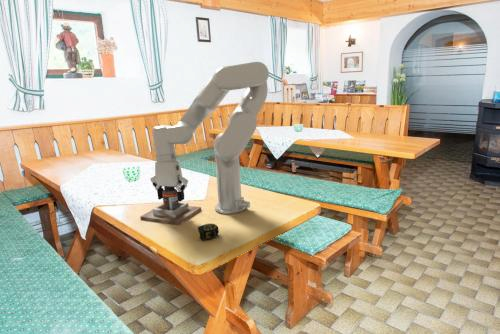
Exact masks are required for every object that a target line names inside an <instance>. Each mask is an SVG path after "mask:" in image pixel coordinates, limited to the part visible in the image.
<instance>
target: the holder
mask: <svg viewBox="0 0 500 334" xmlns="http://www.w3.org/2000/svg"><path fill="white" fill-rule="evenodd" d="M200 211H202V207H201V206H196V205H195V206H193V205H189V202H183V201H179V207H178V208H176V209H175V210H165V209H164V203H163V202H162V203H161V204H159V205H157V206H156V207H154V208H153V209H151V210H150V211H148V212H146V213H145V214H142V215H140V216H139V217H140V220H142V221H143V220H144V221H148V222H149V221H150V222H154V223H155V222H156V223H163V224H170V225H176V226H179V225H181V224H183V223H184V222H186V221H187V220H188V219H190V218H191V217H193V216H195V215H196V214H198V213H199V212H200Z"/></svg>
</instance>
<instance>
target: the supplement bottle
mask: <svg viewBox="0 0 500 334" xmlns="http://www.w3.org/2000/svg"><path fill="white" fill-rule="evenodd" d="M163 189H164V191H163V192H162V194H163V198H162V201H163V202H162V204H163V203H164V209H165V210H175V209H176V208H178V207H179V202H180V201H178V194H177V192H178V190H177V189H176V187H169V186H163Z"/></svg>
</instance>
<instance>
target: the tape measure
mask: <svg viewBox="0 0 500 334" xmlns="http://www.w3.org/2000/svg"><path fill="white" fill-rule="evenodd" d="M197 232H198V234H199V239H201V240H202V241H204V240H211V239H215V238H217V237H218V236H219V233H220V231H219V226H218V225H217V224H215V223H206V224H202V225H200V226H198V228H197Z"/></svg>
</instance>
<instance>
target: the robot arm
mask: <svg viewBox="0 0 500 334" xmlns="http://www.w3.org/2000/svg"><path fill="white" fill-rule="evenodd" d="M269 73H270V72H269V69H268V66H267V65H266V64H265V63H263V62H261V61H250V62H247V63H241V64H234V65H227V66H226V65H225V66H221V67H219V68H217V69H216V70H215V71H214V73H212V75H211V76H210V77H209V79H208V80H207V82H206V83H205V85H204V86H203V88H201V90H200V91H199V92H198V94H197V95H196V96H195V98H194V99H193V101H192V103H190V104H191V105H189V107H188V109H187V110H186V111H185V112H184V114H183V116H182V117H181V118H180V120H178V122H177V123H176V124H175V125H173V126H171V125H168V124H164V125H163V124H162V125H156V126H153V128H152V140H153V145H154V146H153V147H154V152H155V160H156V161H155V163H154V164H155V167H154V172H155V173H154V174H155V175H154V176H152V177H151V178H150V179H149V180H150V181H151V182H150V183H152V186H153V187H154V188H155V191H156V193H157V199H158V200H163V194H162V192H163V191H164V186H169V187H175V189H176V190H177V191H178V192H177V194H178V201H179V202H183V201H184V200H185V189H186V188H187V187H188V183H189V180H188V179H187V178H186V177H184V176H183V173H182V168H181V165H180V162H179V159H178V158H179V155H178V154H176V146H175V145H187V144H189V143H190V142H192V140H193V138H194V133H195V132H196V131H197V129H198V128H199V126H200V125H201V124H202V123H203V122H204V121H205V120H206V118H207V117H208V116H210V115H211V114H213V113H214V111H216V109H217V108H218V107H219V105H220V104H221V102H222V101H223V100H224V98H225V97H226V96H227V94H228V93H229V92H230V91H235V90H241V89H245V91H244V94H243V95H242V97H241V99H240V101H239V103H238V104H237V106H236V108H235V109H234V110H233V111H232V113H231V115H230V116H229V121H228V122H229V124H228V125H227V127H226V129H225V130H224V131H223V132H220V133H219V134H218V135H216V137H215V139H214V141H213V151H214V160H215V173H216V185H217V187H216V189H217V200H218V201H217V202H218V203H217V204H216V205H215V206H214V210H215V212H216V213H219V214H224V215H225V214H226V215H228V214H230V215H231V214H238V213H241V212H243V211H245V209H246V208H247V209H248V208H250V207H251V202H250V201H249V200H245V198H244V196H242V185H241V184H242V183H241V181H242V180H241V165H240V163H241V162H240V155H241V154H242V153H243V151H244V149H245V148H246V147H247V145H248V144H249V142H250V140H251V139H252V137H253V136H254V133H255V131H256V129H257V126H258V125H257V123H258V122H257V117H258V115H259V114H260V111H261V110H262V108H263V107H264V104H265V102H266V100H267V96H268V82H267V81H268V79H269Z"/></svg>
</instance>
